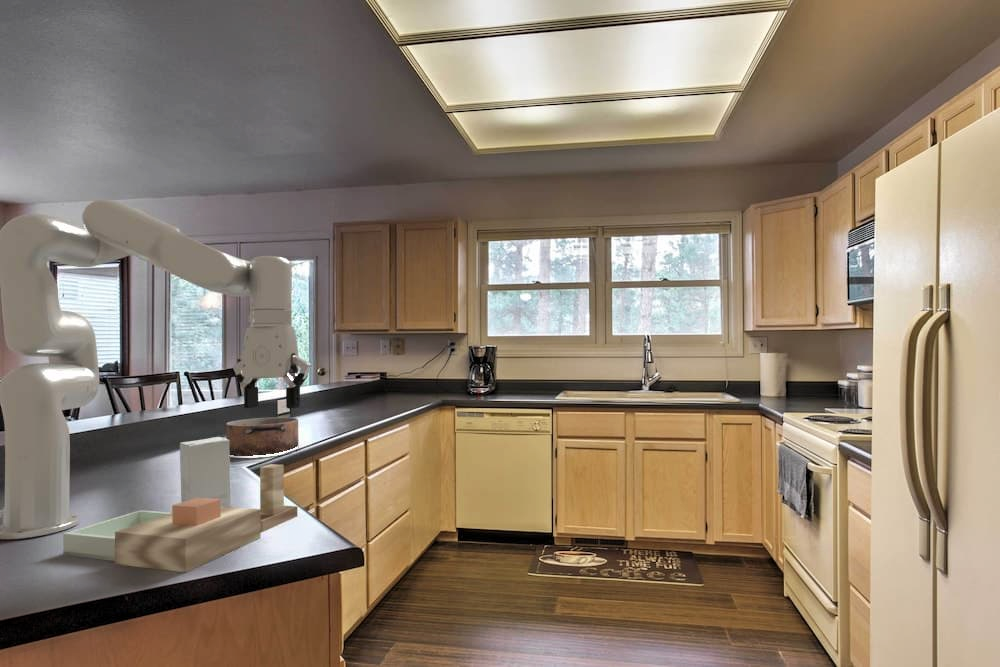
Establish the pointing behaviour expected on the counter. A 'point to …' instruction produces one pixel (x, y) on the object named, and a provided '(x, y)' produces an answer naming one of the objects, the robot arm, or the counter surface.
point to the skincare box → (205, 470)
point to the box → (103, 535)
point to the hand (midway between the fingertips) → (271, 407)
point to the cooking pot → (262, 436)
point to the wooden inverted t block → (273, 498)
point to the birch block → (185, 540)
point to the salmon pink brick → (196, 511)
